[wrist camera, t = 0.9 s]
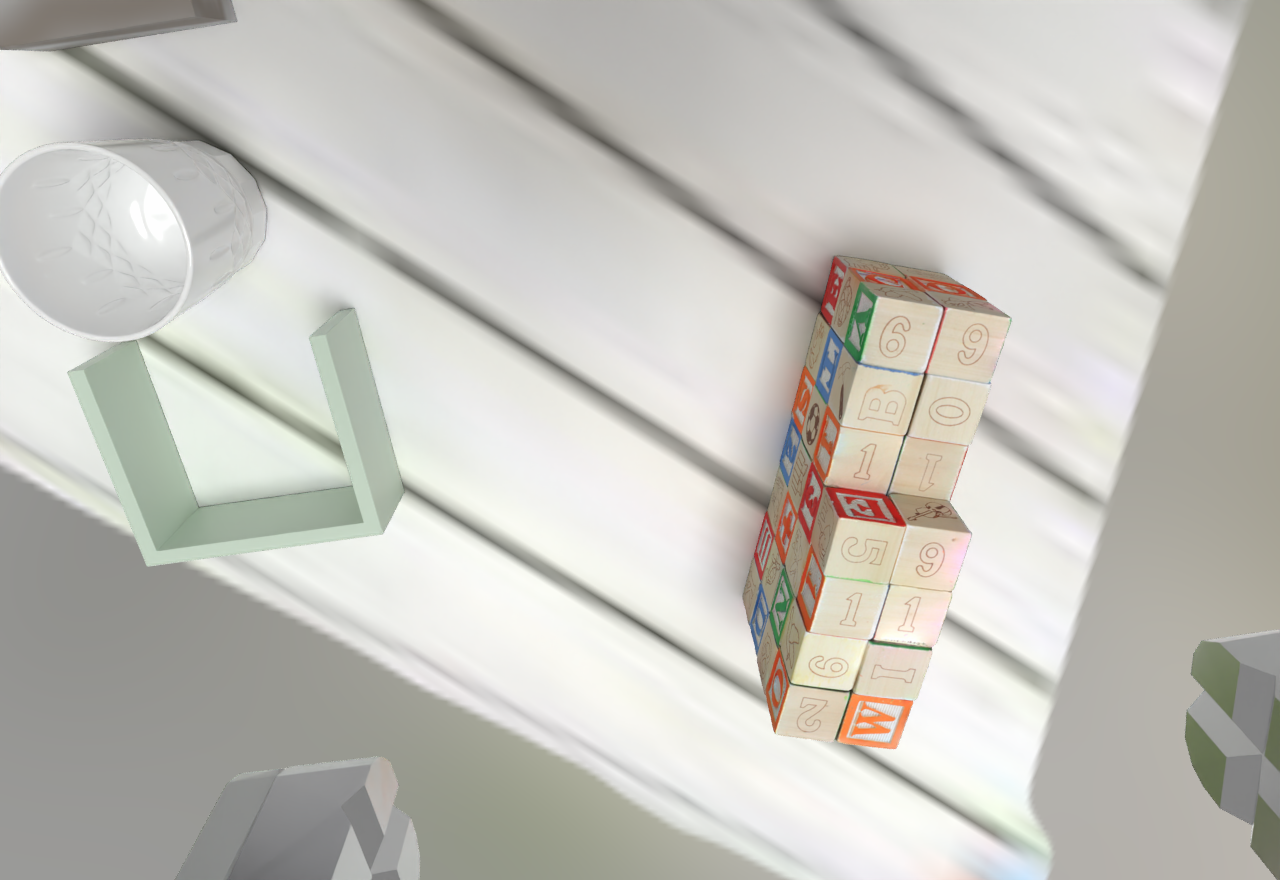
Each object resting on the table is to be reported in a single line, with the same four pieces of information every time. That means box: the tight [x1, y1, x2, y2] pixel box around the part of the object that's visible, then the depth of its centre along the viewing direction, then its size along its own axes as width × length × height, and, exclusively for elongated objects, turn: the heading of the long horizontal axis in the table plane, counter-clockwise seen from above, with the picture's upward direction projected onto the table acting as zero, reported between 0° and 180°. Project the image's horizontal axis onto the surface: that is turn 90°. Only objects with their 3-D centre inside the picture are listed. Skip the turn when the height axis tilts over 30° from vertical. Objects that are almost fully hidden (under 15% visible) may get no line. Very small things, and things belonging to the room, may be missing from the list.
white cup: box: [0, 139, 267, 342], centre depth 40 cm, size 8×8×10 cm
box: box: [67, 308, 404, 566], centre depth 47 cm, size 11×13×5 cm
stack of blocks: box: [743, 256, 1012, 749], centre depth 45 cm, size 21×6×12 cm, turn 170°
